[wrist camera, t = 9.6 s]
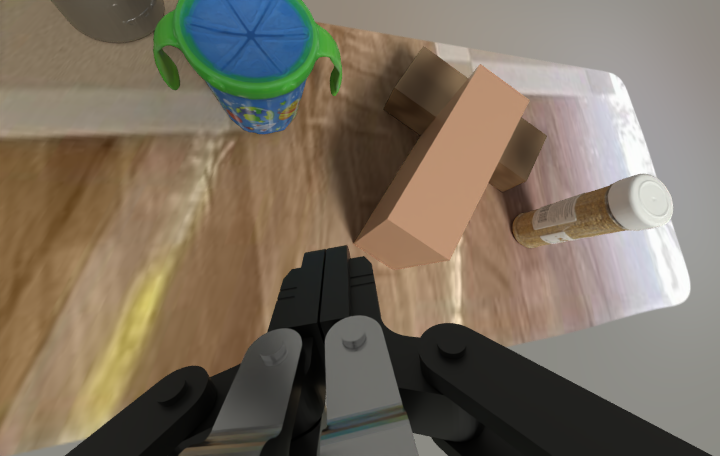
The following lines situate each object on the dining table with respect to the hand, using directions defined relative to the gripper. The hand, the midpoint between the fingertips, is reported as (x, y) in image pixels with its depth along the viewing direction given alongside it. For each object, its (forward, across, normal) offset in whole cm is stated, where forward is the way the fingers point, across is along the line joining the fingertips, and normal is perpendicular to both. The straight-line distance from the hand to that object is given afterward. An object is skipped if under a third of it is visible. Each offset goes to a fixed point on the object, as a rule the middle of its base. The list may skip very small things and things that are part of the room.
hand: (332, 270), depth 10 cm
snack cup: (+26, +7, -5) cm, 28 cm away
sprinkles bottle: (+23, -21, +14) cm, 34 cm away
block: (+23, -7, +7) cm, 25 cm away
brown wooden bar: (+29, -15, +2) cm, 32 cm away
